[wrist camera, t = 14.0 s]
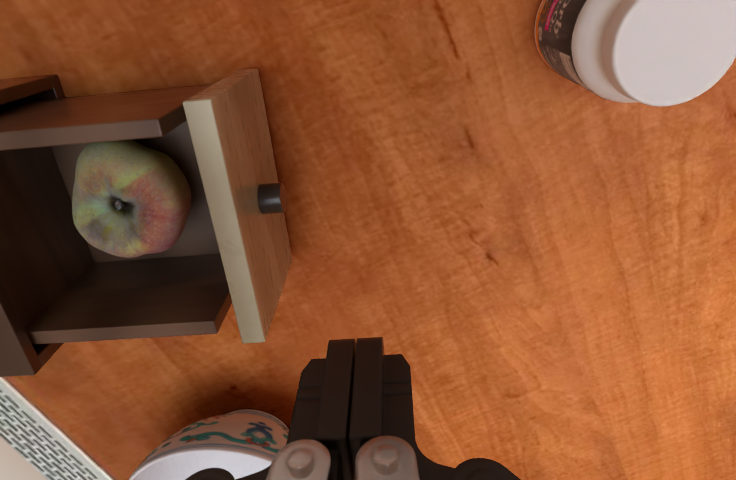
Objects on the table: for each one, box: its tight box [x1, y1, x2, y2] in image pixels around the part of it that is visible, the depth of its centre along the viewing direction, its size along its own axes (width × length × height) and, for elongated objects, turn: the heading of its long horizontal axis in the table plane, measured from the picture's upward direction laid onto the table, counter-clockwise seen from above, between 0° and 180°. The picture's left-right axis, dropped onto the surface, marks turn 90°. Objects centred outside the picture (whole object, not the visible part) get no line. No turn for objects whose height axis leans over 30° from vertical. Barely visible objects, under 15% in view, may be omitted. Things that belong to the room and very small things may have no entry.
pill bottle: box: [534, 0, 736, 106], centre depth 23 cm, size 6×6×10 cm
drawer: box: [0, 68, 292, 344], centre depth 28 cm, size 15×12×9 cm
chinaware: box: [128, 409, 289, 480], centre depth 39 cm, size 15×15×8 cm
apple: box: [72, 140, 191, 258], centre depth 28 cm, size 6×8×6 cm
